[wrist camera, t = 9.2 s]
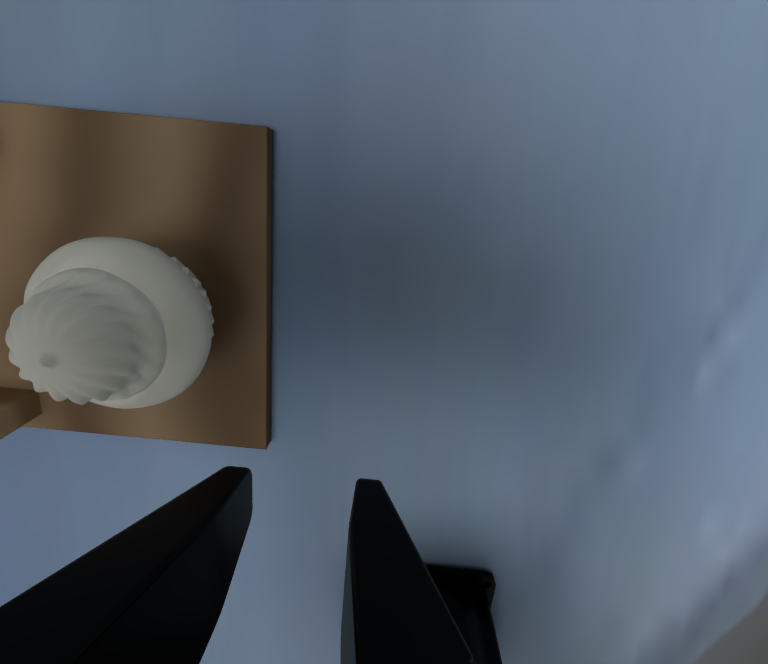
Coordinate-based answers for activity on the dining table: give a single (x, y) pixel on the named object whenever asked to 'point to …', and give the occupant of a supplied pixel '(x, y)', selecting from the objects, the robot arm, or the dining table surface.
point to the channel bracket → (158, 229)
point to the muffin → (111, 325)
